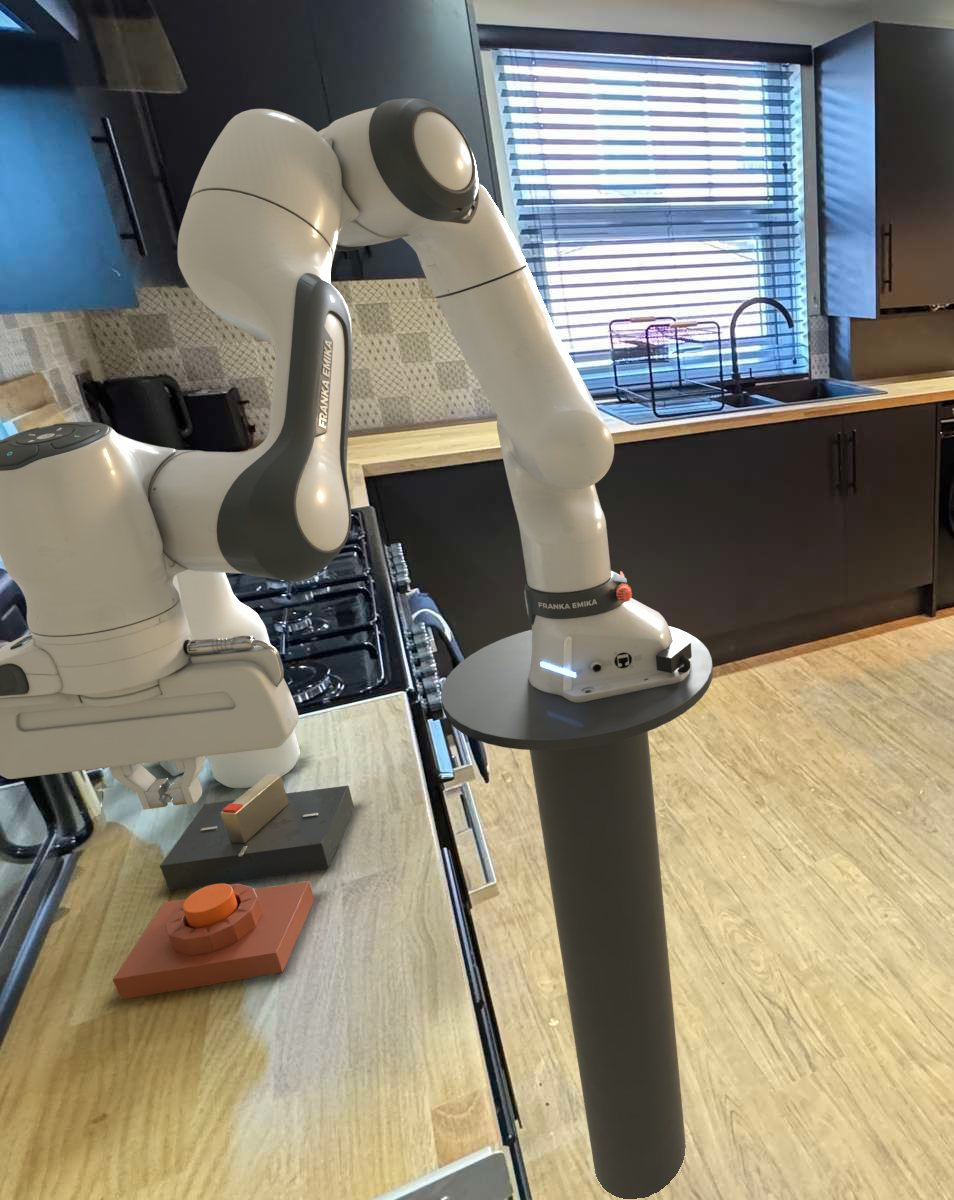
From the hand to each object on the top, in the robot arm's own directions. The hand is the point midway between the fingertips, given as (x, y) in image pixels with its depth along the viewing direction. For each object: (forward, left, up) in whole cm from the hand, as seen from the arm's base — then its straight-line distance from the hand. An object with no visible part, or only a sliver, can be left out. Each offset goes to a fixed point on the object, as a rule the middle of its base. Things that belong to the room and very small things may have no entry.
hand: (174, 802), depth 68 cm
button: (0, 0, -12) cm, 12 cm away
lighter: (+18, -34, -15) cm, 41 cm away
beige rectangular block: (+1, -14, -12) cm, 18 cm away
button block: (0, 0, -15) cm, 15 cm away
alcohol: (+7, -30, -15) cm, 34 cm away
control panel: (+1, -14, -15) cm, 21 cm away
